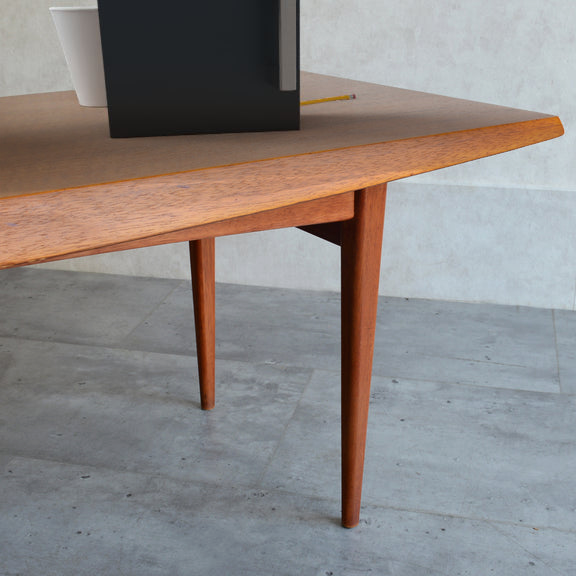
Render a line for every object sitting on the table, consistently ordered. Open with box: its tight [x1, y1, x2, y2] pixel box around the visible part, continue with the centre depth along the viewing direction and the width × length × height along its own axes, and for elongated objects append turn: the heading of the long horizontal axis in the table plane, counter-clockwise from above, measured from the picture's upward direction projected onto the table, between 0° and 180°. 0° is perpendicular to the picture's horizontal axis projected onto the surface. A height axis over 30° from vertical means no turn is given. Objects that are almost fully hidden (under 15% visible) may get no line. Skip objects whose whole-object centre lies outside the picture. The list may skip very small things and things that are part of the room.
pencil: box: [300, 93, 357, 107], centre depth 100 cm, size 1×13×1 cm, turn 135°
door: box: [96, 0, 301, 139], centre depth 71 cm, size 7×20×20 cm, turn 102°
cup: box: [48, 5, 107, 108], centre depth 99 cm, size 12×12×12 cm
